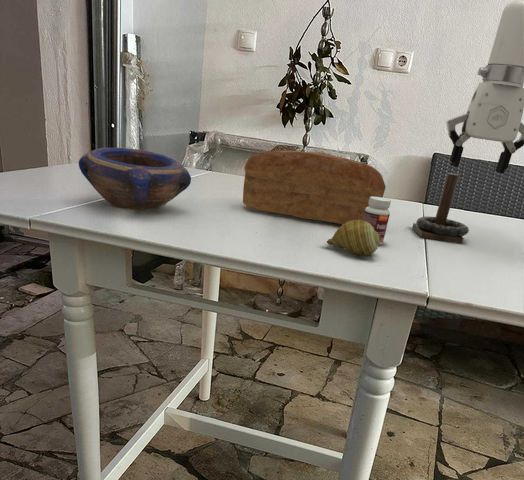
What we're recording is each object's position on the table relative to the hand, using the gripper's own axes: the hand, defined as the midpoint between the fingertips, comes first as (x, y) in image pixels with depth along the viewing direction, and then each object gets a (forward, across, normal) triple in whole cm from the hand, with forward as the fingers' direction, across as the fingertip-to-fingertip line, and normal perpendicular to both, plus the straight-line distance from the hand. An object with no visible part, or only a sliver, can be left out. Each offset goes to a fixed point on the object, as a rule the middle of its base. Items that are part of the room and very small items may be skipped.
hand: (476, 169), depth 106 cm
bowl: (+15, -68, -13) cm, 71 cm away
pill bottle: (+15, -22, -15) cm, 30 cm away
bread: (+15, -34, +1) cm, 37 cm away
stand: (+15, -4, 0) cm, 15 cm away
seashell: (+15, -26, -25) cm, 39 cm away
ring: (+13, -4, 0) cm, 13 cm away
